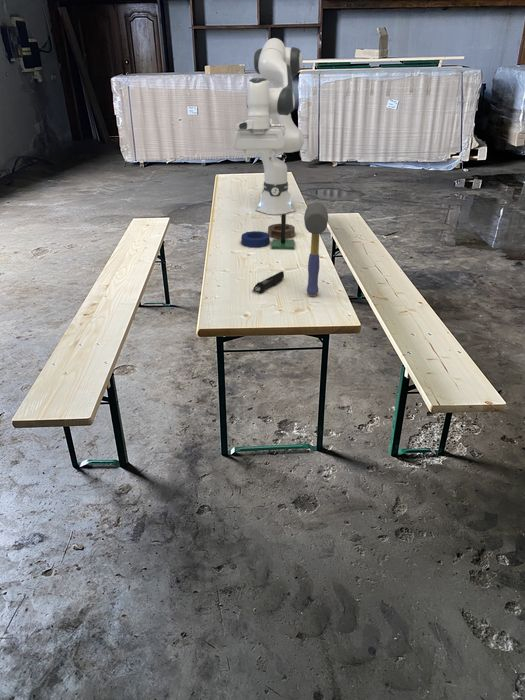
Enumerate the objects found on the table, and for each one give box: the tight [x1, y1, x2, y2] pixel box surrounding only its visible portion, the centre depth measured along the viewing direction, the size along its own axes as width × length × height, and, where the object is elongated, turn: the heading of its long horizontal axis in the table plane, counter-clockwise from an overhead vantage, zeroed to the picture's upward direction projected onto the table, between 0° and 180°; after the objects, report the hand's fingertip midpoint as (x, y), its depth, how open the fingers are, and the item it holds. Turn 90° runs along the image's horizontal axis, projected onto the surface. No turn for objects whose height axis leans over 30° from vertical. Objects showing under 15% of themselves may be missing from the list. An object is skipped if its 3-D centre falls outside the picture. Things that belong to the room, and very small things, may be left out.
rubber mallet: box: [303, 201, 329, 297], centre depth 170 cm, size 12×8×30 cm, turn 175°
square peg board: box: [271, 213, 295, 250], centre depth 217 cm, size 9×9×13 cm
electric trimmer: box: [252, 271, 285, 294], centre depth 183 cm, size 4×16×3 cm, turn 144°
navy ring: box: [240, 230, 270, 249], centre depth 222 cm, size 12×12×3 cm
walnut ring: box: [267, 223, 296, 239], centre depth 231 cm, size 12×12×3 cm
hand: (259, 161), depth 213 cm, fingers open, 8 cm apart
